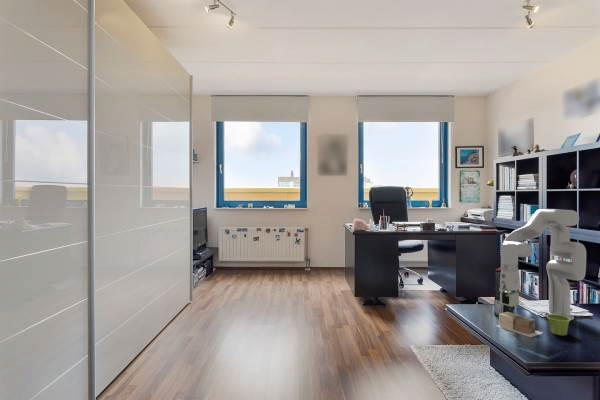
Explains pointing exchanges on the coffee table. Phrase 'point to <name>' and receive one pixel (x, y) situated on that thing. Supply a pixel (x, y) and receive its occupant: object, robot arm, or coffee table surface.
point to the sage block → (511, 299)
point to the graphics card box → (497, 306)
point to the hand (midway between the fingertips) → (509, 302)
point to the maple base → (508, 320)
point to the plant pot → (558, 324)
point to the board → (523, 333)
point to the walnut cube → (525, 325)
